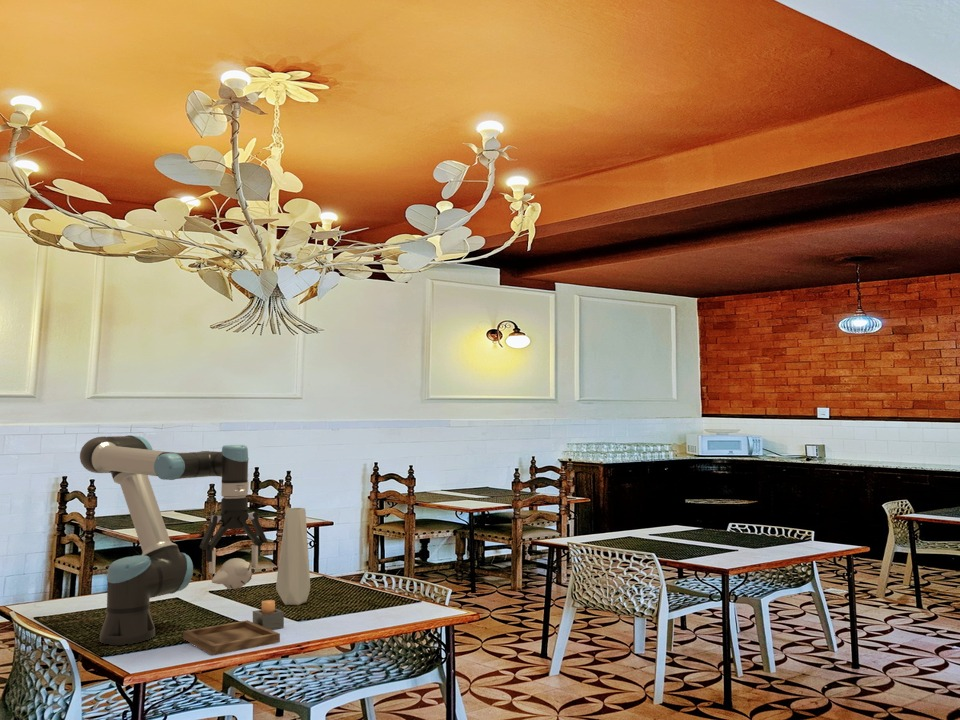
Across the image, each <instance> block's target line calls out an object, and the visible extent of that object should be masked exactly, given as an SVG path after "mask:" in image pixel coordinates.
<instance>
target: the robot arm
mask: <svg viewBox="0 0 960 720" xmlns="http://www.w3.org/2000/svg"><path fill="white" fill-rule="evenodd" d="M79 459H80V460H79V461H80V463H81V465H82V466H83V468H84V469H86V470H87V471H89V472H91V473H95V474H111V477H112V480H113V482H114V483H116V484H118V485H120V487H121V488H120V489H121V491H122V494H123V497H124V500H125V502H126V506H127V509H128V512H129V515H130V518H131V520H132V524H133V527H134V530H135V533H136V536H137V538H138V541H139V544H140V548H141V551H142V553H141V554H140V555H139V554H138V555H133V556H125V557H121V558H119V559H116V560H114V561H113V562H112V563H110V564H109V566H108V568H107V569H108V570H107V577H106V581H107V585H106V586H107V587H106V589H107V590H106V591H107V594H106V597H107V599H106V616H105V617H104V618H105V619H104V621H103V624H102V626H101V630H100V633H99V643H100V642H101V643H100V644H102V643H104V644H103V645H105V644H109V645H108V646H126V645H125V644H128V645H134V644H133V643H136V644H138V643H137V642H141V643H143V642H142V641H145V640H148V641H150V640H152V639H154V638H155V637H154V636H156V628H155V624H154V622H153V618H152V615H151V611H150V599H152V598H155V597H160V596H165V595H169V594H170V595H171V594H175V593H177V592H180V591H182V590H184V589H186V588H187V587H188V586H189V585H190V583H191V580H192V577H193V574H194V564H193V561H192V559H191V557H190V556H189V555H188V554H186V553H185V552H180V549H179V546H178V544H176V543H174V542H172V541H171V539H170V536H169V533H168V531H167V528H166V527H167V526H166V525H165V521H164V519H163V518H164V517H163V516H162V513H161V510H160V507H159V504H158V501H157V499H156V496H155V493H154V489H153V487H152V484H151V481H150V478H149V476H152V477H153V476H154V477H158V478H159V479H160V480H166V481H174V480H181V479H192V478H195V479H196V478H206V477H221V493H220V494H221V497H222V498H221V500H220V501H221V504H220V506H221V507H220V509H221V510H220V511H221V513H220V515H215V514H214V515H213V514H212V515H210V517H209V518H210V520H209V524H208V526H207V528H206V531H205V533H204V535H203V537H202V540H201V542H200V545H199V548H200V549H203V550H205V552H206V553H205V554H206V555H205V560H206V562H207V563H208V573H209V574H214V575H215V574H216V550H214V548H215V547H216V545H218V543H219V541H220V540H221V538H222V537H223V536H224V534H225V533H226V532H227V531H229V530H234V529H238V530H239V529H242V530H243V531H244V532H245V534H246V535H247V536H248V537H249V539H250V540H251V542H252V543H253V544H252V545H251V568H252V569H259V568H258V567H259V557H260V556H261V554H262V553H261V552H262V551H261V550H262V549H261V547H262V545H263V544H264V543H267V541H268V539H267V536H266V535H265V533H264V531H263V527H262V526H261V523H260V521H259V515H258V512H257V511H256V512H255V511H251V512H248V509H249V508H248V505H249V504H248V501H249V500H248V497H246V496H249V495H248V491H249V490H248V488H249V483H248V481H249V478H248V475H249V474H248V473H249V472H248V471H249V459H250V458H249V450H248V447H247V445H245V444H226V445H223V446H222V447H221V451H213V450H212V451H211V450H201V451H193V452H192V451H191V452H172V451H165V450H163V451H162V450H155V449H154V450H153V447H152V445H151V443H150V442H149V441H148V440H147V439H146V438H144V437H142V436H139V435H131V434H129V435H124V436H123V435H122V436H121V435H120V436H119V435H118V436H115V435H114V436H97V437H94V438H91V439H90V440H87V442H85V443H84V444H83V446H82V447H81V449H80V453H79ZM248 519H249V520H250V521H251V524H252V526H253V528H254V531H255V532H254V531H253V530H252V529H251V527H250V526H249V524H248V523H247V521H248ZM219 522H221V524H220V525H219V528H218V529H217V531H216V528H217V524H218V523H219ZM215 531H216V532H215ZM214 532H215V534H214ZM255 533H256V534H255ZM153 637H154V638H153ZM151 638H152V639H151ZM149 639H150V640H149ZM145 642H146V641H145Z"/></svg>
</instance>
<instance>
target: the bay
mask: <svg viewBox="0 0 960 720" xmlns="http://www.w3.org/2000/svg"><path fill="white" fill-rule="evenodd" d="M183 639H184V640H183ZM182 640H183V641H185V640H186V641H188V642H190V643H191V645H192V644H193V645H192V646H194V645H195V646H194V647H196V646H197V647H196V648H198V649H200V650H202V651H203V652H206V653H207V654H209V655H211V656H216V655H222V654H226V653H231V652H236V651H241V650H246V649H247V650H248V649H252V648H257V647H262V646H267V645H272V644H277V643H281V633H280V632H277V631H275V630H270V629H267V628H265V627H263V626H260V625H258V624H255V623H253V621H250V620H247V619H246V620H241V621H236V622H235V621H234V622H230V623H224V624H223V623H222V624H218V625H212V626H206V627H200V628H196V629H195V628H194V629H189V630H184V631H182ZM186 641H185V642H186ZM188 642H187V643H188ZM190 643H189V644H190Z"/></svg>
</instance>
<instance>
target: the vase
mask: <svg viewBox="0 0 960 720" xmlns="http://www.w3.org/2000/svg"><path fill="white" fill-rule="evenodd" d="M306 513H307V512H306V508H305V507H287V508H285V514H284V515H285V516H284V520H283V521H284V522H283V528H282V537H281V538H282V539H281V545H280V552H279V560H278V567H277V575H276V582H275V583H276V584H275V590H276V593H278V595H279V597H280V600H281V601H282V602H283V604H284V606H299V605H302V604H305V603H306V602H307V600H308V597H309V594H310V590H311V578H310V577H311V576H310V575H311V573H310V559H309V547H308V546H309V545H308V530H307V514H306Z"/></svg>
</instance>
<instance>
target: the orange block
mask: <svg viewBox="0 0 960 720" xmlns="http://www.w3.org/2000/svg"><path fill="white" fill-rule="evenodd" d="M275 608H276V601H275V600H274V599H268V600H262V601H261V610H262V613H264V614H266V613H272V612H275Z"/></svg>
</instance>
